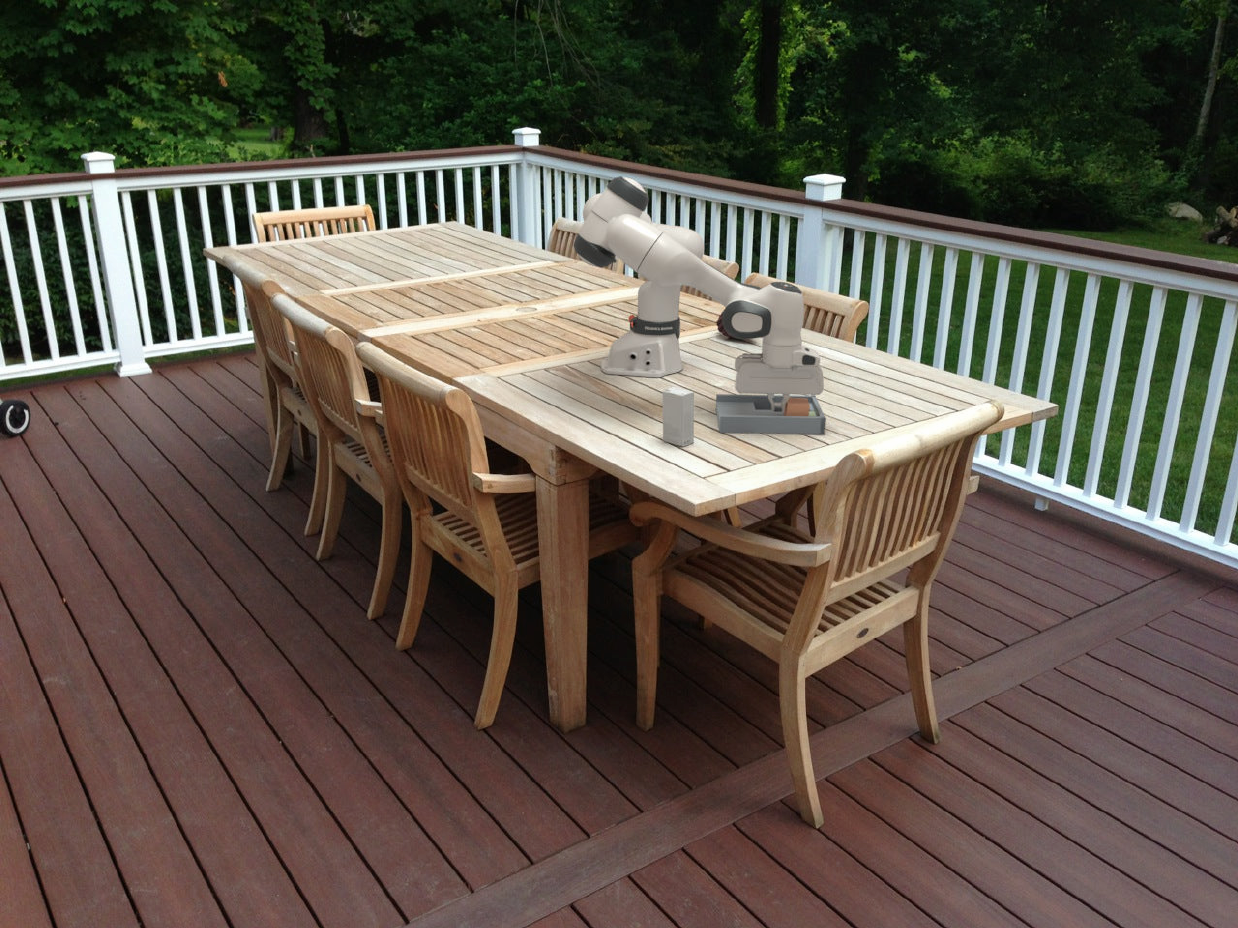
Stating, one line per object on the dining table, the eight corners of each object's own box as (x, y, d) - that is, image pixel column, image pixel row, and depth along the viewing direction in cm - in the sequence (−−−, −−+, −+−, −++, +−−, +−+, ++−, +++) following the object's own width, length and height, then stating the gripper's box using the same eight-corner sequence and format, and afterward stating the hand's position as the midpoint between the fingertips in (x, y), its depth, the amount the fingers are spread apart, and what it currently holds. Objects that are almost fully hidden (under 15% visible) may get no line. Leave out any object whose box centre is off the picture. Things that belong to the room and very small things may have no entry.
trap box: (720, 432, 251) (720, 416, 250) (715, 409, 267) (716, 393, 266) (824, 434, 251) (825, 418, 250) (813, 410, 267) (815, 395, 265)
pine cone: (767, 344, 323) (769, 311, 320) (740, 348, 318) (742, 315, 315) (730, 331, 337) (732, 299, 334) (704, 335, 332) (705, 303, 329)
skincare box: (694, 443, 245) (696, 391, 241) (681, 448, 242) (683, 396, 238) (673, 436, 249) (675, 385, 245) (660, 441, 246) (661, 389, 241)
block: (786, 420, 253) (788, 404, 251) (783, 413, 257) (785, 397, 256) (807, 421, 253) (809, 405, 251) (804, 414, 257) (806, 398, 256)
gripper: (736, 356, 247) (733, 414, 252) (827, 358, 246) (822, 416, 251) (734, 349, 253) (731, 406, 258) (823, 351, 252) (818, 407, 257)
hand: (777, 411), depth 255 cm, fingers closed
